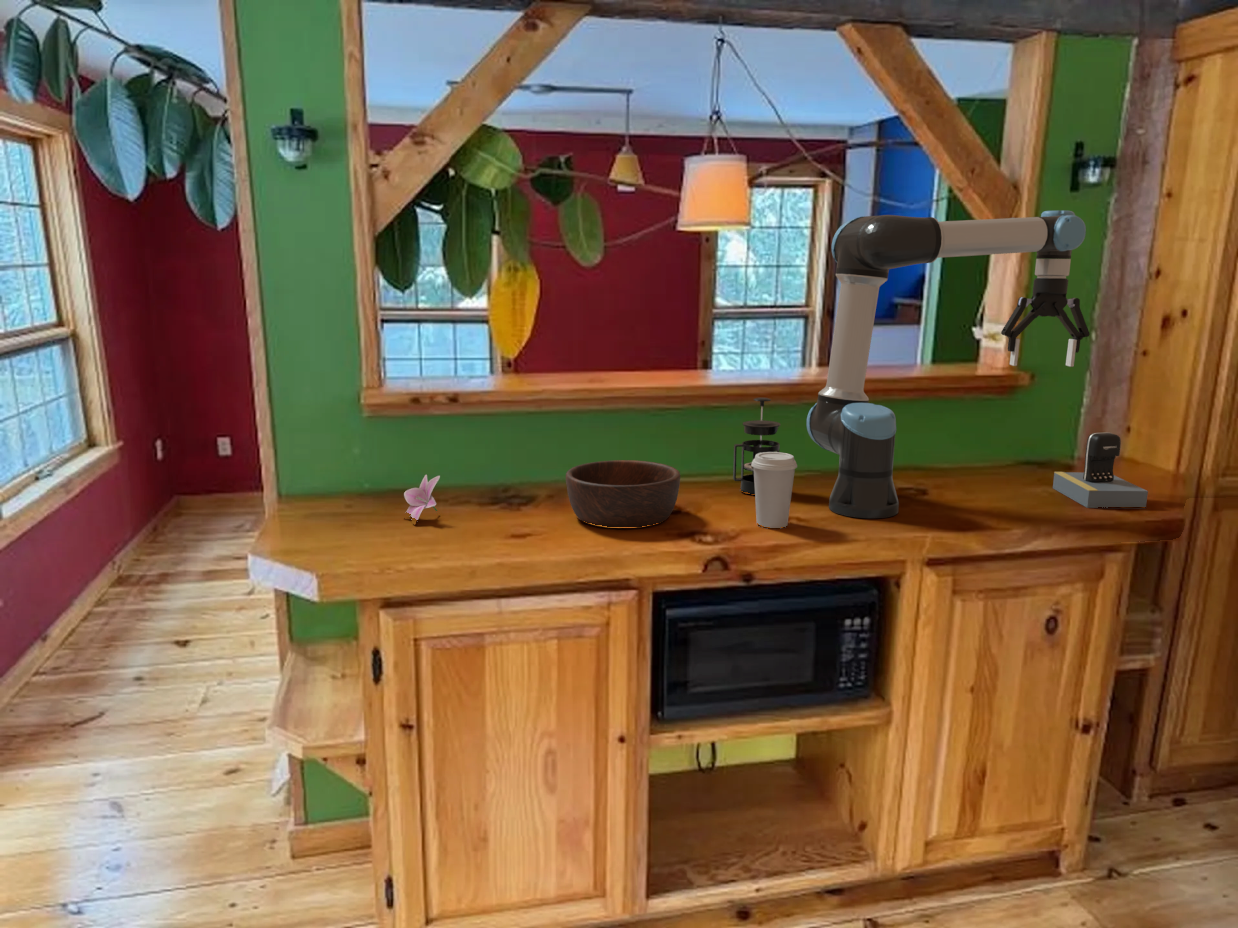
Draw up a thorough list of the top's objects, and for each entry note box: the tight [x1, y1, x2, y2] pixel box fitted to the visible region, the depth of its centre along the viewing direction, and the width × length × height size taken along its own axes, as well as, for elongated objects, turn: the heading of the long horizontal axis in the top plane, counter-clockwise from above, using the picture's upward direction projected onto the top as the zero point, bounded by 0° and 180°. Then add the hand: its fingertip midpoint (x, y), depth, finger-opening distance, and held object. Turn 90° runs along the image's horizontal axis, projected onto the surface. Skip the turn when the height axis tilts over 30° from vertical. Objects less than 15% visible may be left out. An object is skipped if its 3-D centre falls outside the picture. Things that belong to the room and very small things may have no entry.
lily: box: [403, 474, 441, 520], centre depth 196 cm, size 12×12×10 cm
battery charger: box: [1083, 432, 1122, 482], centre depth 209 cm, size 7×4×11 cm, turn 101°
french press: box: [732, 397, 781, 494], centre depth 216 cm, size 12×9×23 cm
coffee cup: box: [751, 451, 798, 529], centre depth 189 cm, size 10×10×15 cm
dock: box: [1052, 471, 1149, 509], centre depth 211 cm, size 13×18×4 cm
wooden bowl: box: [565, 459, 681, 527], centre depth 196 cm, size 25×25×10 cm
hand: (1041, 365), depth 220 cm, fingers open, 13 cm apart
